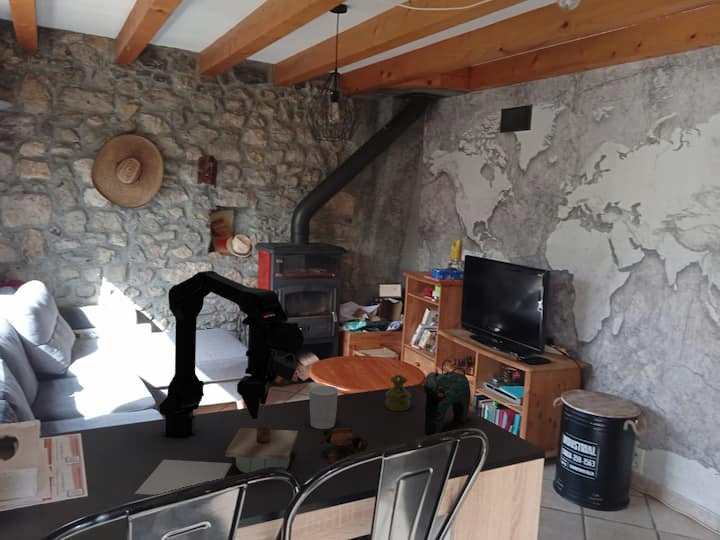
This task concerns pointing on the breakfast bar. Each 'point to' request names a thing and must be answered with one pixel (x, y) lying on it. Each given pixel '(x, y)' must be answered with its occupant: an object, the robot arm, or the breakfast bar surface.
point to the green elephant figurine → (445, 398)
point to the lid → (262, 443)
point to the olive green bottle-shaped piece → (398, 395)
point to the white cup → (323, 406)
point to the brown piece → (343, 443)
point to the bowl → (259, 463)
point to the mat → (181, 475)
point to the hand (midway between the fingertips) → (258, 411)
